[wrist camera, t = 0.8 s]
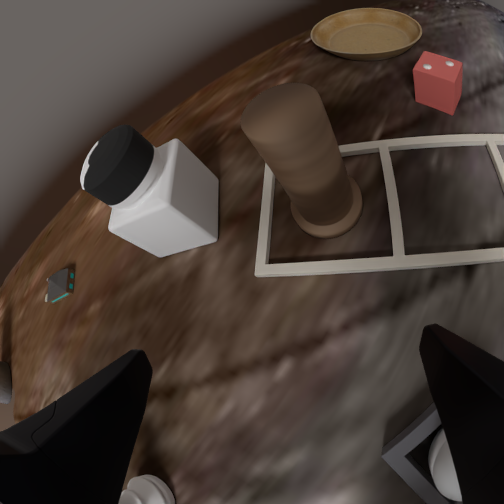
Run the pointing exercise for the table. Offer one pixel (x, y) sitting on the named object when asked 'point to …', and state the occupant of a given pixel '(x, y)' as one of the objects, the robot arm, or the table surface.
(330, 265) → the track
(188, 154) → the medicine bottle
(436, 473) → the white ball
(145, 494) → the chess pawn
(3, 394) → the pillar candle
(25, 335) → the table surface
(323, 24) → the plant saucer
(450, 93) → the red die
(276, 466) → the table surface
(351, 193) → the brown flanged cylinder
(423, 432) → the dome base
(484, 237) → the table surface
